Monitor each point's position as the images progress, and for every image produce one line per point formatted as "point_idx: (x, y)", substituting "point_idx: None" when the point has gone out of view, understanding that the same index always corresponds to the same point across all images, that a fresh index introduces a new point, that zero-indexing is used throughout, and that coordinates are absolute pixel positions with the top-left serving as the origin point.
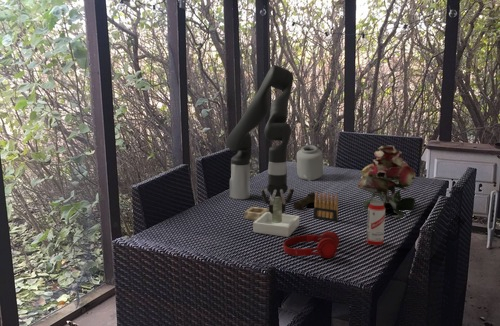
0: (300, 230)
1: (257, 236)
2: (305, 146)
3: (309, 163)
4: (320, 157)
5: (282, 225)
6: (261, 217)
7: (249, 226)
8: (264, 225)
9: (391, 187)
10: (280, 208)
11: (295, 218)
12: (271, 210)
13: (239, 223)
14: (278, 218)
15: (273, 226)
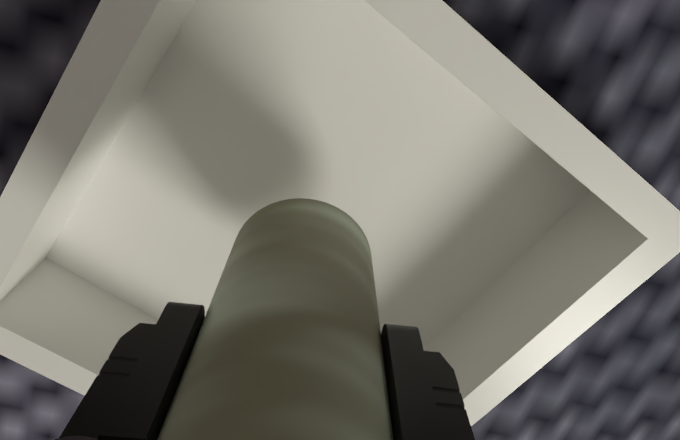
0: (21, 80)
1: (652, 14)
2: None
3: None
4: None
5: (224, 259)
6: (482, 388)
7: (570, 344)
8: (568, 114)
9: None
10: (223, 353)
11: (6, 247)
12: (423, 363)
13: (620, 431)
14: (295, 229)
15: (454, 13)
